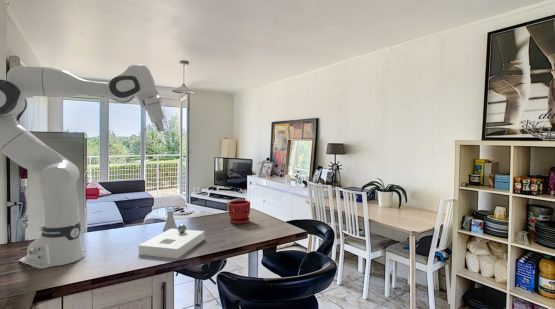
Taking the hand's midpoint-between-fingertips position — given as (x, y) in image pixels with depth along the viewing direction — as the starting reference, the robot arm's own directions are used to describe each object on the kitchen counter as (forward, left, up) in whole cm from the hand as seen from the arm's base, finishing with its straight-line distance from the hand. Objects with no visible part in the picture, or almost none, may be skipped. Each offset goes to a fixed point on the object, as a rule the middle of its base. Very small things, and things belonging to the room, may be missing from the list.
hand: (161, 131), depth 133 cm
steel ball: (+6, +6, -46) cm, 47 cm away
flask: (-9, +20, -52) cm, 57 cm away
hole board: (+6, -1, -52) cm, 52 cm away
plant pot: (+21, +44, -52) cm, 72 cm away
